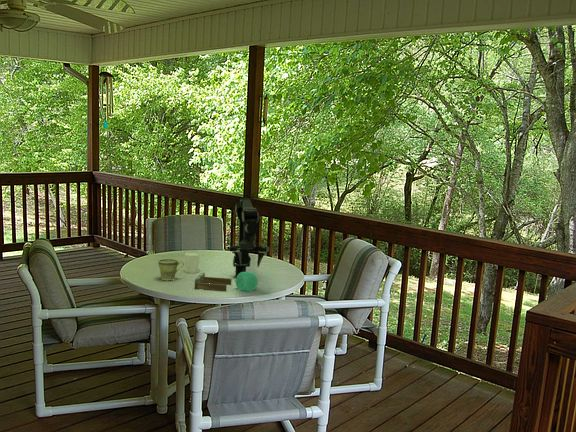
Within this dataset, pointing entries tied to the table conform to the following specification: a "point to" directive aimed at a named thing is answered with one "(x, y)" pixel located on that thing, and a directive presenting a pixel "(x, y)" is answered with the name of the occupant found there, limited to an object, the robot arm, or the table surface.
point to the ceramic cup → (168, 268)
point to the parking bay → (211, 283)
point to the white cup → (191, 262)
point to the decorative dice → (246, 281)
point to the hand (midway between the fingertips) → (249, 266)
